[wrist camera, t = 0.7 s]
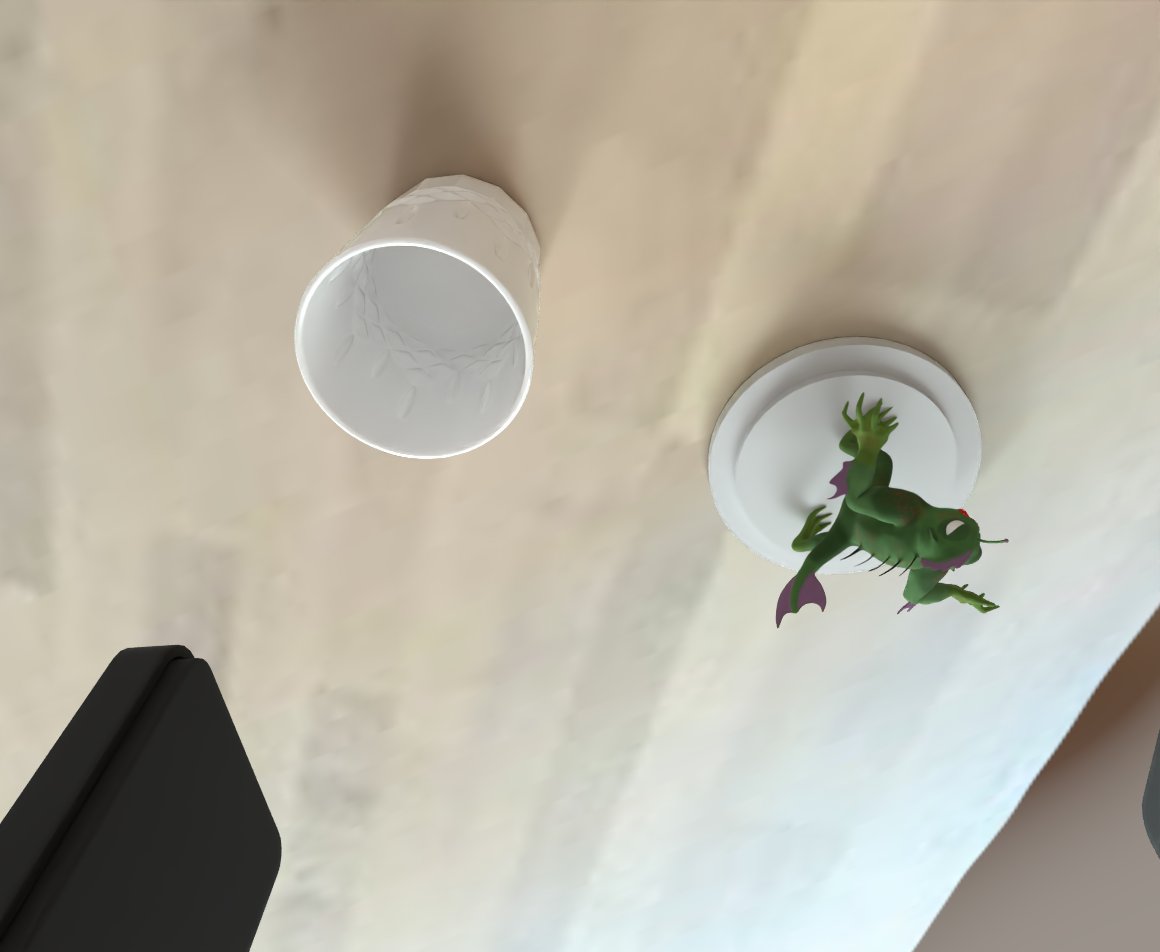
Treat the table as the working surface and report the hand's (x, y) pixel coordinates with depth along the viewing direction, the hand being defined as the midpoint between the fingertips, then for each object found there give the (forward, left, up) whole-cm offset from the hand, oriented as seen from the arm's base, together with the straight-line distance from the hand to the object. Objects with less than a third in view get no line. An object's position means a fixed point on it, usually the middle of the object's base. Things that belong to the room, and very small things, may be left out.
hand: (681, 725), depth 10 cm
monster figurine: (+18, -1, -32) cm, 37 cm away
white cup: (+1, -10, -32) cm, 34 cm away
